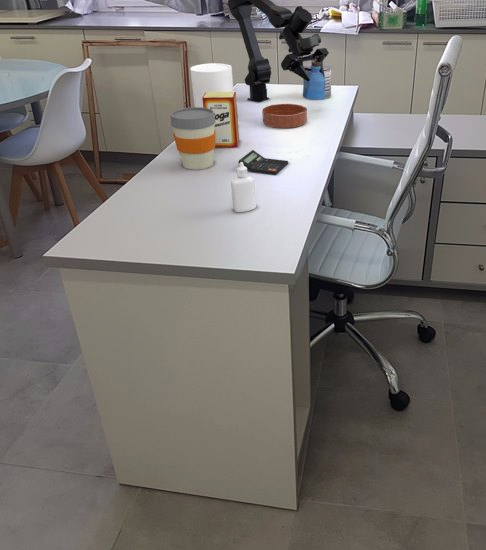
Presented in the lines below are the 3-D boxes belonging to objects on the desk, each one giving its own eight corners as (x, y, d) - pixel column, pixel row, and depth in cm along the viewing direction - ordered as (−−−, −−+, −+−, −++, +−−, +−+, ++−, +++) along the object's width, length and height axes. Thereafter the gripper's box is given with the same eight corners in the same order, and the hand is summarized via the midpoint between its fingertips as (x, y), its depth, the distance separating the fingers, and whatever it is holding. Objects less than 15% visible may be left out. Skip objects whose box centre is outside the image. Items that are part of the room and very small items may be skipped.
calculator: (275, 174, 160) (275, 164, 158) (238, 170, 163) (237, 160, 161) (288, 163, 167) (287, 153, 165) (252, 159, 170) (251, 149, 169)
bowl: (253, 123, 202) (253, 110, 199) (283, 113, 212) (282, 101, 209) (287, 131, 193) (286, 118, 191) (315, 120, 203) (315, 108, 201)
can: (301, 93, 237) (301, 63, 230) (329, 92, 238) (329, 62, 231) (305, 100, 227) (304, 69, 221) (333, 99, 228) (333, 68, 222)
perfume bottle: (324, 99, 204) (327, 64, 198) (307, 99, 202) (310, 63, 196) (318, 95, 209) (321, 61, 203) (302, 95, 207) (304, 60, 202)
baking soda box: (239, 140, 186) (235, 90, 177) (237, 147, 180) (233, 95, 172) (210, 141, 186) (205, 91, 177) (207, 147, 180) (202, 96, 172)
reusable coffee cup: (226, 158, 171) (222, 108, 163) (207, 173, 161) (201, 121, 153) (189, 154, 175) (183, 105, 167) (168, 169, 165) (161, 117, 157)
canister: (189, 131, 195) (182, 70, 185) (209, 120, 206) (203, 62, 195) (224, 135, 191) (218, 73, 180) (242, 123, 201) (238, 64, 191)
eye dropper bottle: (234, 205, 142) (230, 159, 136) (256, 205, 142) (253, 159, 136) (232, 212, 139) (228, 166, 132) (255, 212, 139) (252, 165, 132)
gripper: (285, 29, 190) (308, 69, 189) (325, 23, 201) (347, 60, 199) (271, 51, 199) (292, 89, 198) (310, 44, 210) (330, 80, 209)
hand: (316, 79), depth 201 cm, fingers closed on perfume bottle, 7 cm apart
